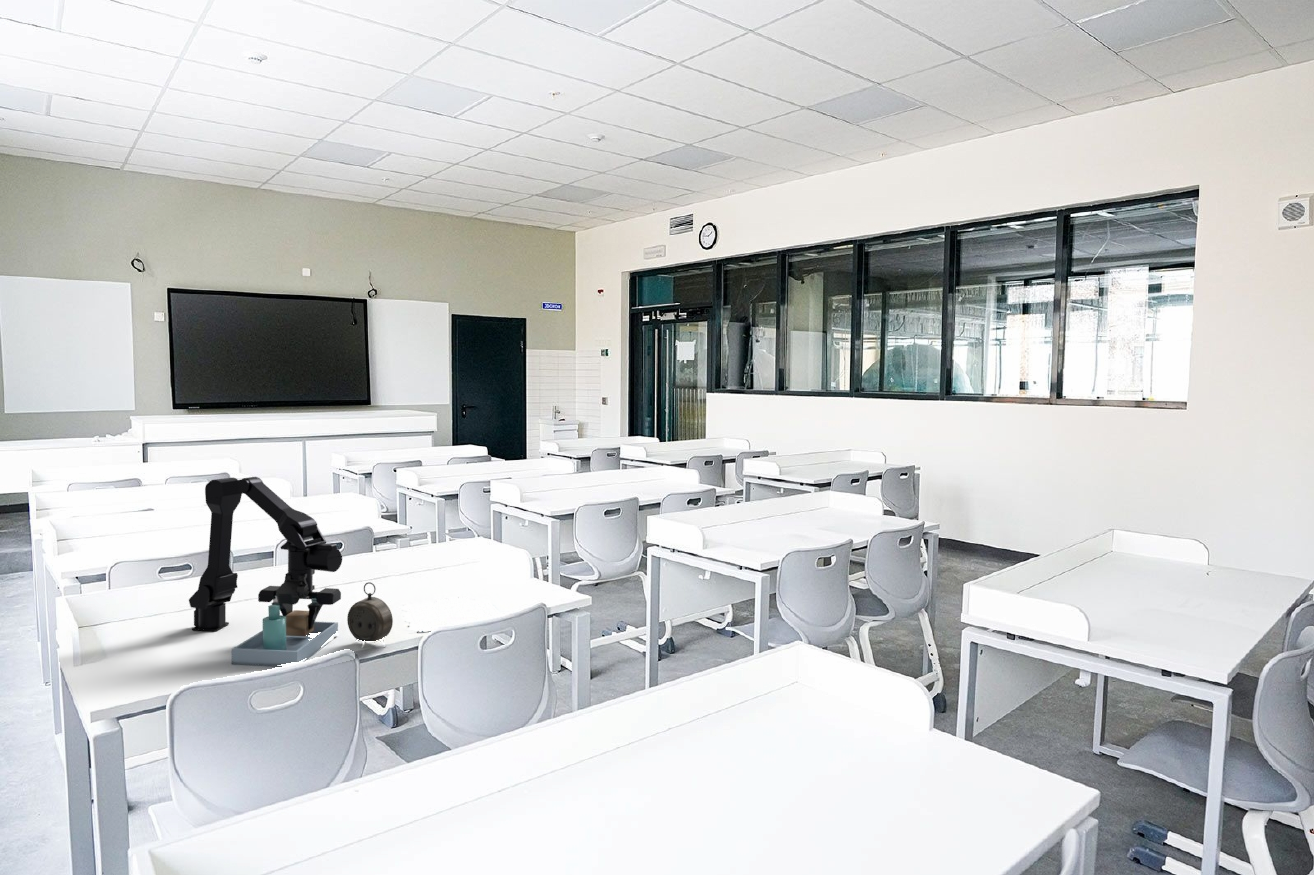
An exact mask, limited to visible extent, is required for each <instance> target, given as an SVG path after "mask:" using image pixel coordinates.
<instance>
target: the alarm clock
mask: <svg viewBox="0 0 1314 875" xmlns="http://www.w3.org/2000/svg"><path fill="white" fill-rule="evenodd" d="M368 584H369V585H372V587H373V592H369V593H368V592H366V591H367V590H366V586H367V585H368ZM376 590H377V588H376V585H375V584H374V583H373V582H370V581H368V582H366V583H365V584H364V586H363V592H364V593H365V594H366V595H367V597H365V598H364V599H361V600H359V601H357V602H355V603H353V605H351V607H350V608H349V610H348V612H347V619H346V620H347V626H348V629H349V632H350V634H351V635H352V636H353V637H354V638H355V640H357V639H359V640H362V641H364V640H365V641H376V640H378V641H380V640H379V639H382V638H383V637H384V638H386V637H387V636H388V635H389V634H390V632H391V630H392V627H393V623H394V622H393V614H392V611H391V609H390V607H389V606H388V605H387V604H386V602H385V601H383V600H382V599H381V598H379V597H376V596H373V595H374V594H375V593H376ZM385 636H386V637H385ZM384 638H383V639H384ZM359 640H358V641H359ZM376 642H377V641H376Z"/></svg>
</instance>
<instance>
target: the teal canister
mask: <svg viewBox="0 0 1314 875" xmlns="http://www.w3.org/2000/svg"><path fill="white" fill-rule="evenodd" d="M267 610H268V616H266V617H263V618H262V630H263V650H286V617H285V616H283V615H282V614H281V611H280V605H272V604H271V605H268V609H267Z"/></svg>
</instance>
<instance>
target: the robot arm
mask: <svg viewBox="0 0 1314 875" xmlns="http://www.w3.org/2000/svg"><path fill="white" fill-rule="evenodd" d="M243 494H245V496H247V497H248V498H249V499H250V500H251V501H252V502H253V503H254V504H256V505H257V506H258V507H259V508H260V509H261V510H262V511H263V512H264V513H266V514H267V515H268V516H269V517H270V518H271V519H272V520H274V522H276V524H277V527H278V531H279V532H280V533H281V535H282V537H283V538H285V540H286V541H285V543H284V544H282V545H281V546H280V549H281V550H285V551H287V573H285V576H284V580H283V581H284V582H282V584H280V585H268V586H267V587H265V588H263V589H260V591H259V593H258V596H257V597H258V601H257V602H259V603H271V605H280V614H281V615H282V616H286V615H287V614H289V613H291V612H292V611H294V610H293V608H294V607H293V606H294V605H296V604H298V603H299V601H300V600H311V603H309V604H308V605H307V608H308V611H309V619H308V626H309V630H310V629H312V627H313V624H314V622H315V621H317V617H318V615H319V613H320V610H321V609H322V607H323V606H324V605H325V606H330V605H334V604H336V603H337V602H339V601H340V600H341V599H342V592H341V591H340V589H339V588H334V587H333V588H330V587H329V588H328V587H325V588H323V589H322V590H320V591H314V590H315V585H313V584H314V583H313V580H314V579H313V575H314V574H315V572H316V571H321V572H329V573H335V572H337V571H338V570H340V567H342V566H341V565H342V562H343V555H342V553H341V551H340V549H338V545H337V543H327V540H326V539H325V537H324V535H323V533H322V532H321V530H320V529H319V527H318V522H317V520H315V518H314V517H312V516H310V515H308V514H306V513H305V512H302V511H299V510H296V509H294V508H292V507H291V506H290V505H289V503H287V502H286V501H284V500H283V499H282V498H281V497H280V496H278V495H277V493H275V492H274V491H273V490H272V489H270V488H269V487H268V486H267V485H266V484H265V483H264V482H263V480H262V479H261V478H260V477H258V476H252V477H251V476H249V477H243V478H242V479H238V478H236V477H227V478H217V479H211V480H210V481H209V482H207V483H206V484H205V488H204V495H205V503H206V505H207V507H208V509H209V511H210V512H211V514H210V515H211V517H210V529H209V530H210V531H209V545H208V556H207V558H208V559H207V566H206V569H205V570H204V571H203V573H202V575H201V577H200V580H199V583H198V588H197V590H196V591H195V592H194V593H193V594H192V595H191V596H190V598H189V599H188V602H189V606H190V608H194V609H195V610H193V627H192V628H191V631H203V632H204V631H205V632H207V631H208V632H217V631H220V630H221V629H223V628H224V627H227V626H228V625H229V623H230V622H229V621H226V620H227V619H226V615H227V614H226V613H227V612H226V606H227V604H226V603H229V602H231V599H232V597H233V594H235V591H236V589H238V583H237V582H238V581H237V580H238V577H239V576H238V575H239V574H238V573H237V572H233V571H232V568H231V567H230V560H231V559H230V557H231V549H232V548H231V546H232V545H231V544H232V534H233V531H232V530H233V521H234V520H233V519H234V518H233V517H234V512H235V510H236V509H237V507H238V506H239V505H240V504H241V500H242V495H243Z"/></svg>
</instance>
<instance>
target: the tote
mask: <svg viewBox="0 0 1314 875" xmlns="http://www.w3.org/2000/svg"><path fill="white" fill-rule="evenodd" d="M336 631H338V632H339V622H336V621H335V622H332V621H317V620H315V622H314V630H313V631H312V632H310V633H318V632H321V633H320V634H319V635H317V636H316V637H315V638H313V639H312V638H310V637H308V635H310V634H308V635H307V636H286V650H263V629H262V630H261V631H259V632H257V633H256V634H253V636H251V637H249V638H248V639H246V640H244V641H243V642H241V643H240V644H238V645H236V646H234V647H232V648H231V665H236V666H237V665H239V666H240V665H242V666H261V667H262V666H263V667H265V666H266V667H278V666H277V665H281V664H286V663H291V662H299V661H301V660H303V659H305V658H308V657H310V658H311V657H312V656H313V655H315V654H316V653H318V652H319V651H320V650H321V649H320V648H321V646H322V645H323V644H324V643H325V642H326V641H327V640H328V639H329V638H330V637H331V636H332V635H333V634H335V633H336ZM308 639H312V640H310V641H309V640H308ZM319 649H320V650H319ZM318 650H319V651H318ZM317 651H318V652H317ZM308 659H309V658H308Z"/></svg>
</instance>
